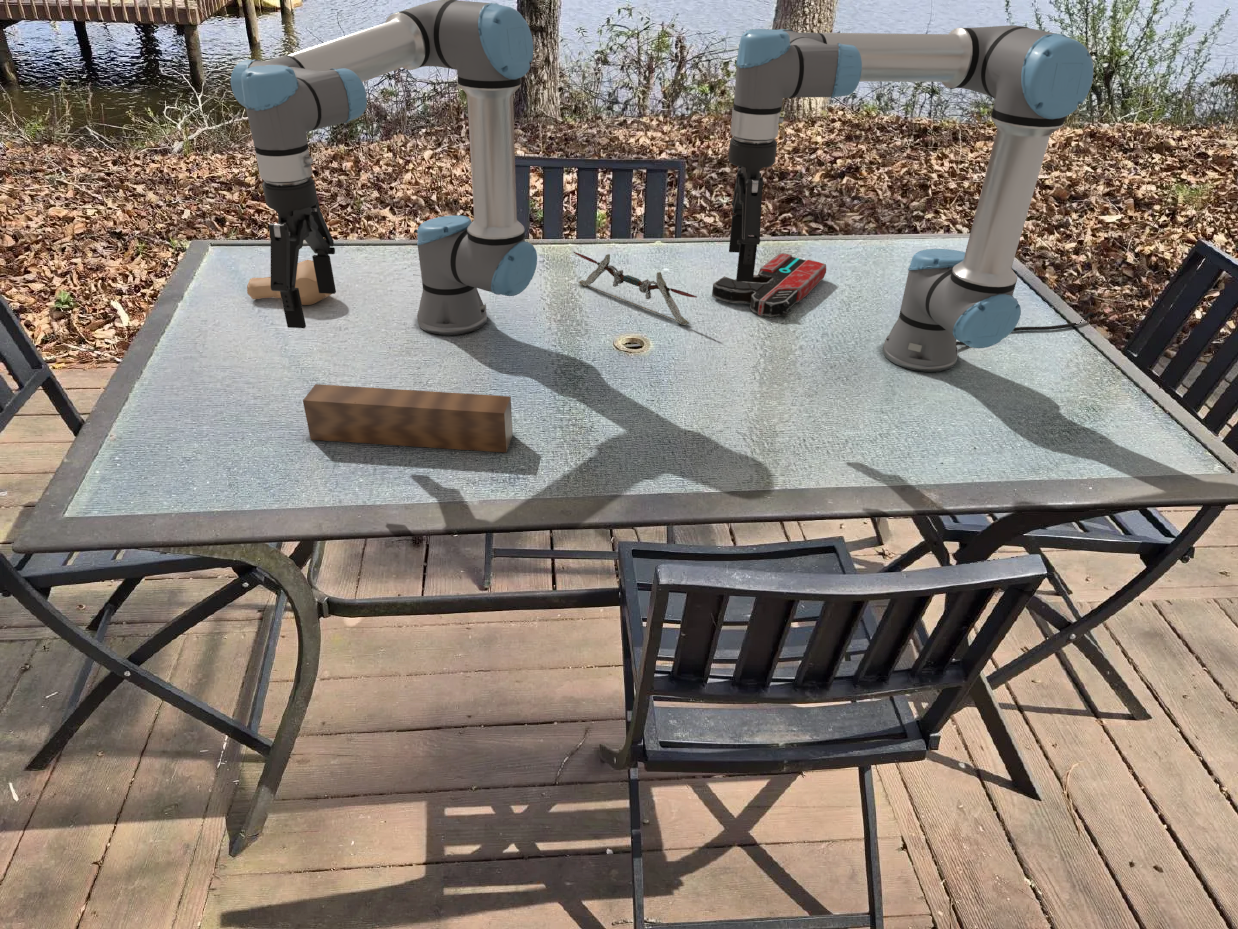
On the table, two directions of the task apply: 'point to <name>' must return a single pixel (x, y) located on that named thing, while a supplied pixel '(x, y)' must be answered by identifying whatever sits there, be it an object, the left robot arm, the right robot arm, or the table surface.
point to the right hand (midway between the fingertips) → (740, 265)
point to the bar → (409, 418)
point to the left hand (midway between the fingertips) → (312, 309)
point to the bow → (643, 285)
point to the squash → (303, 281)
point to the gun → (773, 285)
